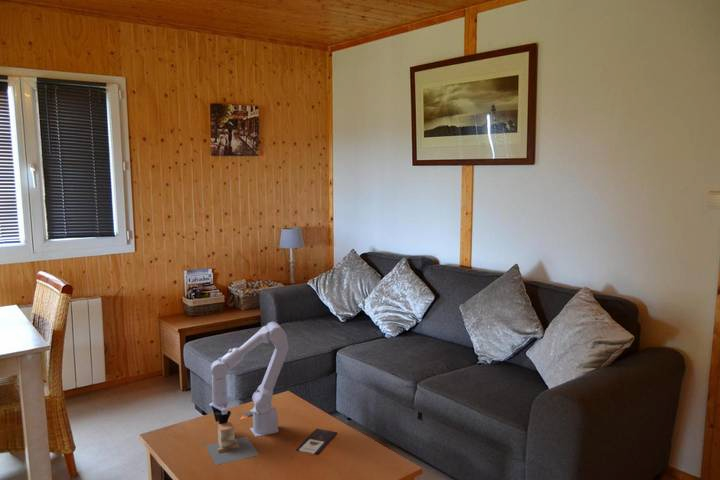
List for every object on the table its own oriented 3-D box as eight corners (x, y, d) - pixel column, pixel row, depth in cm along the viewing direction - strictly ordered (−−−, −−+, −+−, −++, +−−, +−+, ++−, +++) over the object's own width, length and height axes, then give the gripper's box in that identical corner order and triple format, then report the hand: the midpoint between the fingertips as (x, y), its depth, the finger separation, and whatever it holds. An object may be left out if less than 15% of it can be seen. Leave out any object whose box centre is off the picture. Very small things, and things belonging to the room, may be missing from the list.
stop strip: (239, 446, 215) (238, 443, 215) (239, 448, 215) (239, 445, 214) (217, 451, 212) (217, 448, 212) (218, 453, 211) (218, 449, 211)
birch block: (231, 441, 219) (230, 422, 218) (234, 447, 215) (234, 427, 214) (218, 444, 217) (217, 424, 216) (221, 450, 213) (220, 430, 212)
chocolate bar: (337, 432, 227) (317, 453, 210) (337, 434, 227) (317, 455, 210) (316, 428, 230) (295, 449, 213) (316, 430, 230) (295, 451, 214)
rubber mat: (246, 437, 224) (246, 436, 224) (259, 455, 210) (259, 454, 210) (205, 446, 216) (205, 445, 216) (215, 466, 202) (215, 465, 202)
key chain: (252, 410, 249) (252, 407, 248) (259, 412, 247) (259, 409, 247) (232, 422, 237) (232, 419, 237) (239, 424, 236) (239, 421, 235)
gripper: (205, 387, 225) (206, 419, 227) (213, 400, 212) (214, 435, 214) (222, 383, 228) (224, 416, 230) (232, 396, 216) (233, 430, 217)
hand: (220, 424), depth 223 cm, fingers open, 7 cm apart
